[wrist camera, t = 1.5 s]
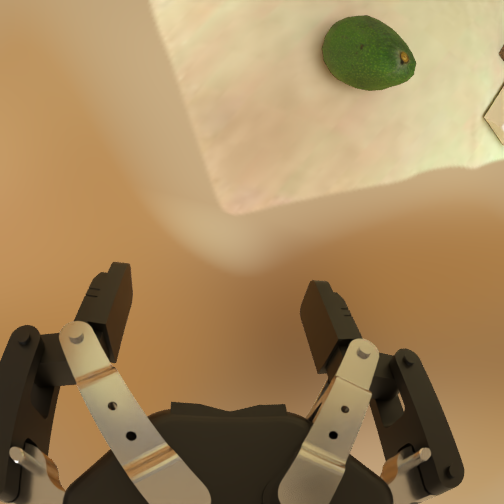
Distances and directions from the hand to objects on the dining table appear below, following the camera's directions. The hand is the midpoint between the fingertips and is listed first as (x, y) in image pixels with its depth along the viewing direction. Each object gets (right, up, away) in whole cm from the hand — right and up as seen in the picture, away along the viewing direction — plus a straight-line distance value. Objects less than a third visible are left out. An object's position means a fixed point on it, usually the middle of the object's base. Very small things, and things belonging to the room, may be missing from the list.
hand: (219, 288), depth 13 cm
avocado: (+12, +24, +12) cm, 30 cm away
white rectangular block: (+39, +23, +13) cm, 47 cm away
